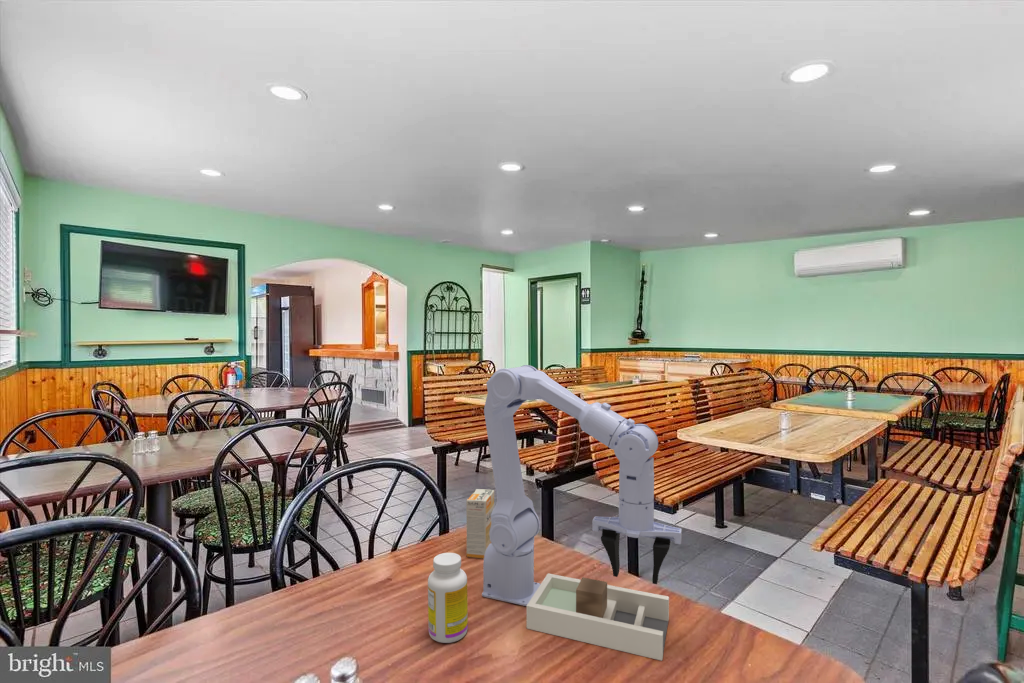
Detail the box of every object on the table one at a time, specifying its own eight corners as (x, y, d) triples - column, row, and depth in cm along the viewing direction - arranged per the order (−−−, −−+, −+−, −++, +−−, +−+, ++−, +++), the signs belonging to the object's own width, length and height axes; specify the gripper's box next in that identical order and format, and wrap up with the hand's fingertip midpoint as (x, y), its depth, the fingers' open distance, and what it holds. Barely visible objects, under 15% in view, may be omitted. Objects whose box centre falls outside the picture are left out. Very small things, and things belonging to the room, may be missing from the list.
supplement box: (486, 559, 113) (486, 501, 112) (465, 557, 114) (465, 499, 113) (495, 543, 121) (495, 489, 120) (475, 541, 122) (475, 487, 121)
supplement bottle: (473, 625, 88) (473, 552, 88) (457, 648, 82) (457, 570, 82) (439, 618, 91) (438, 547, 90) (421, 640, 84) (420, 564, 84)
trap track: (526, 628, 87) (526, 605, 87) (547, 593, 99) (547, 573, 98) (662, 660, 79) (662, 635, 79) (668, 618, 90) (668, 596, 90)
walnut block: (575, 614, 88) (576, 589, 88) (582, 601, 92) (582, 577, 92) (601, 620, 86) (601, 594, 86) (607, 606, 90) (607, 581, 90)
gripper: (588, 500, 84) (588, 580, 85) (679, 512, 79) (678, 598, 80) (597, 487, 91) (597, 561, 92) (682, 498, 86) (681, 576, 86)
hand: (635, 577), depth 86 cm, fingers open, 6 cm apart
